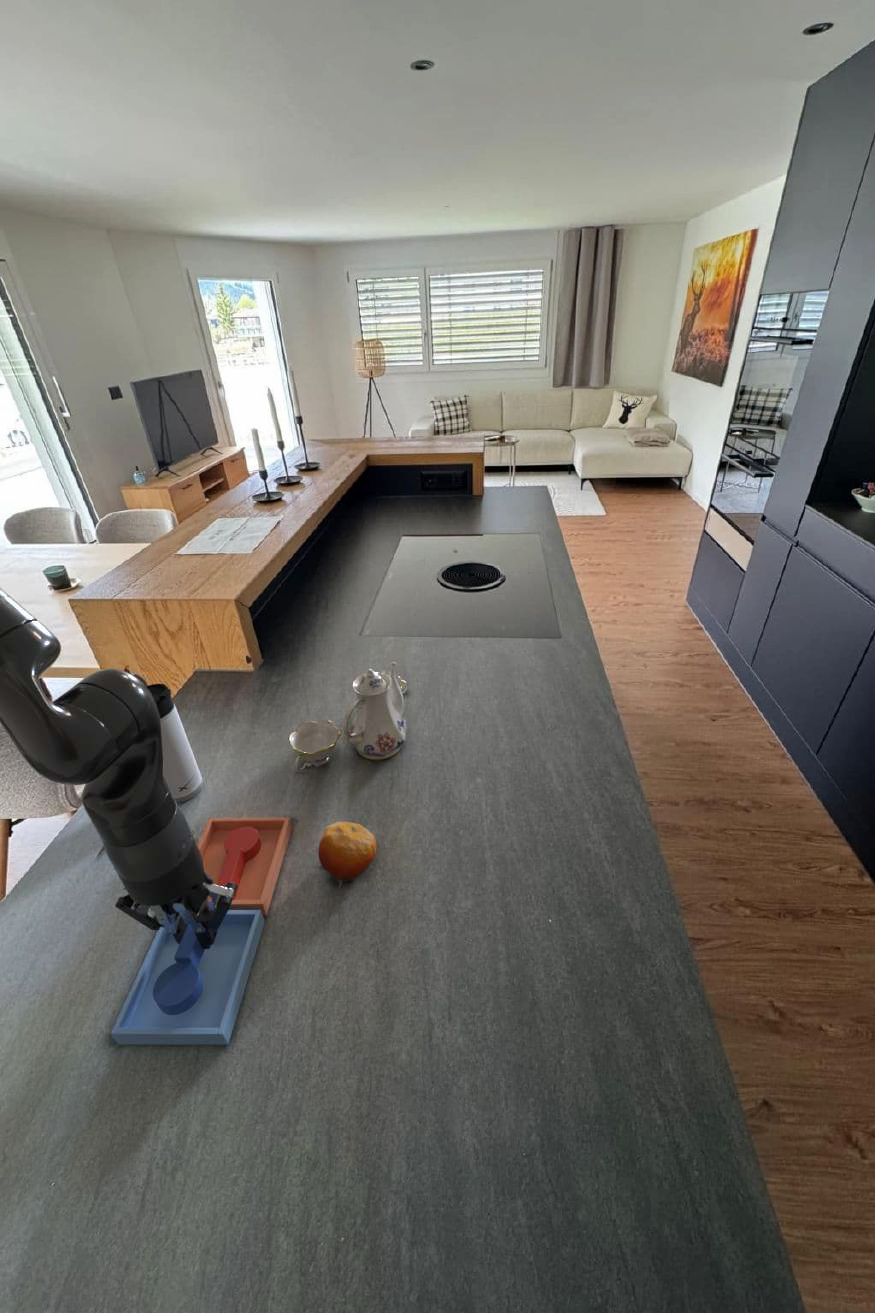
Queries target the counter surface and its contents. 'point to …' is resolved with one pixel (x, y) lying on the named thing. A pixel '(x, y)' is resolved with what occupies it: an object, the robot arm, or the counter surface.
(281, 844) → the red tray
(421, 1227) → the counter surface
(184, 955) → the blue spoon
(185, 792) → the travel mug
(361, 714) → the chinaware
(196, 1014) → the blue tray
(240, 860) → the red spoon
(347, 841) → the fruit
